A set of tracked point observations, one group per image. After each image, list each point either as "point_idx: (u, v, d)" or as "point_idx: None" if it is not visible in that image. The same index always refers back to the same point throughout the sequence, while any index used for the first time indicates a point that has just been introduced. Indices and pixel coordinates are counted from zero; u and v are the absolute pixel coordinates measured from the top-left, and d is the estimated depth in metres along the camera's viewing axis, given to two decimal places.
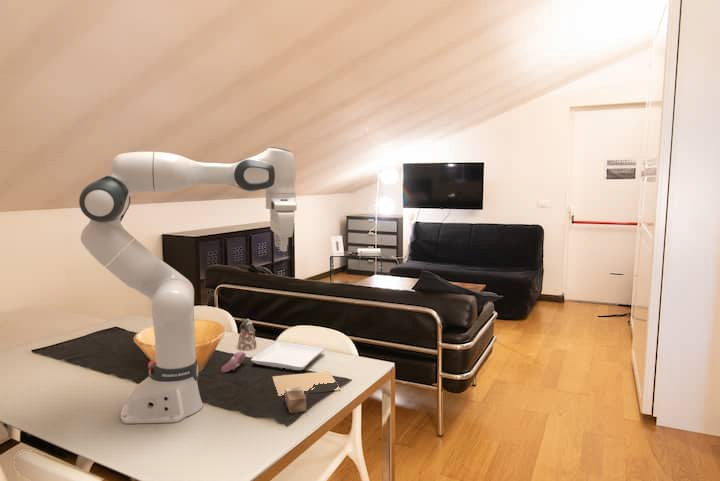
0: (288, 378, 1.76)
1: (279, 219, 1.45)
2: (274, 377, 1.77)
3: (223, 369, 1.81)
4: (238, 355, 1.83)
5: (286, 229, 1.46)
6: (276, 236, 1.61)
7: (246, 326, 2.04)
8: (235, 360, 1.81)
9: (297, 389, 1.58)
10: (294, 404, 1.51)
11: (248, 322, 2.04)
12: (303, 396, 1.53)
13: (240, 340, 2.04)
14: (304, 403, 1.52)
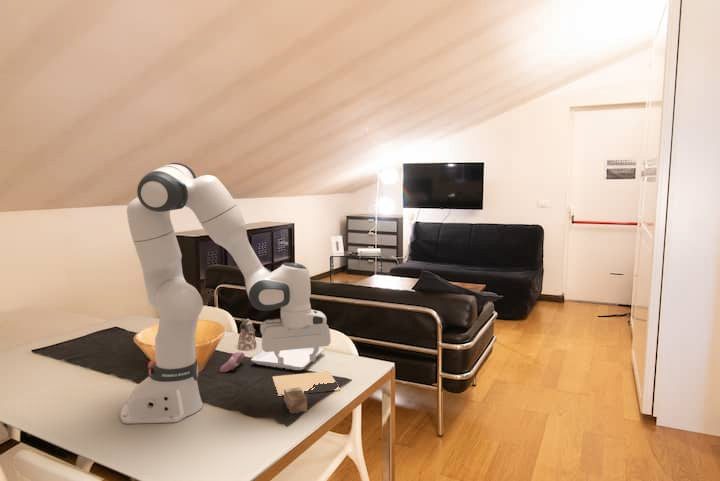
0: (288, 378, 1.76)
1: (329, 330, 1.54)
2: (274, 377, 1.77)
3: (221, 369, 1.81)
4: (237, 355, 1.83)
5: None
6: None
7: (246, 326, 2.04)
8: (234, 360, 1.81)
9: (296, 389, 1.58)
10: (295, 404, 1.51)
11: (248, 322, 2.04)
12: (303, 396, 1.54)
13: (240, 340, 2.04)
14: (305, 403, 1.52)
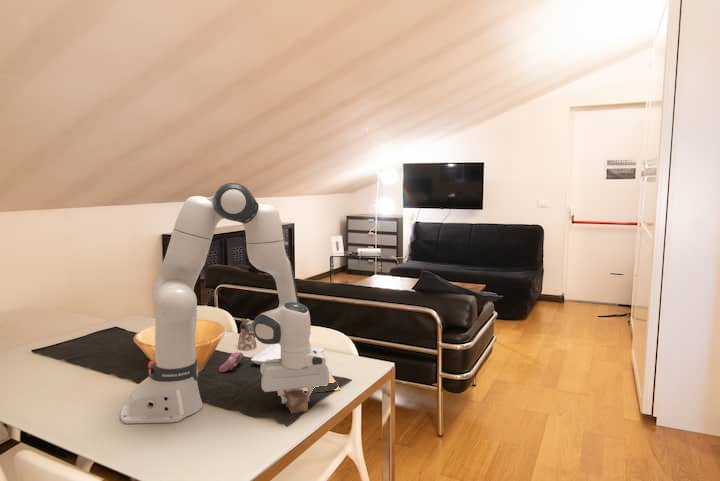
0: None
1: (328, 370, 1.55)
2: None
3: (220, 369, 1.81)
4: (235, 355, 1.83)
5: None
6: (281, 394, 1.54)
7: (246, 326, 2.04)
8: (232, 360, 1.81)
9: (296, 389, 1.58)
10: (296, 404, 1.51)
11: (248, 322, 2.04)
12: (304, 395, 1.54)
13: (240, 340, 2.04)
14: (306, 402, 1.52)
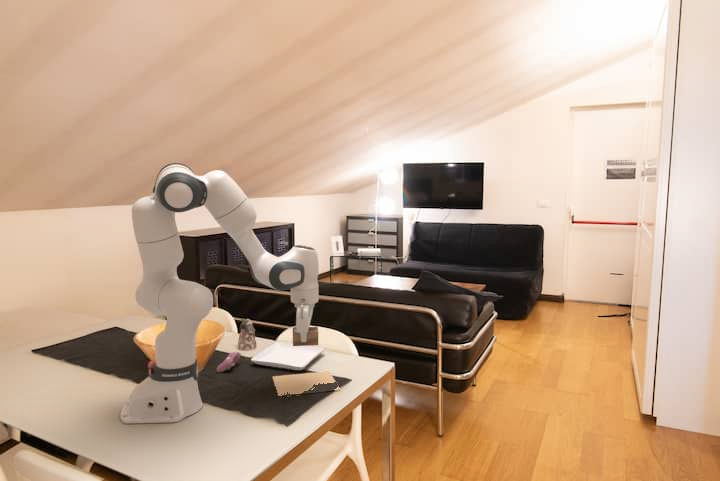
0: (288, 378, 1.76)
1: None
2: (274, 377, 1.77)
3: (218, 369, 1.81)
4: (233, 355, 1.84)
5: None
6: None
7: (246, 326, 2.04)
8: (230, 360, 1.81)
9: None
10: None
11: (248, 322, 2.04)
12: (313, 327, 1.68)
13: (240, 340, 2.04)
14: None
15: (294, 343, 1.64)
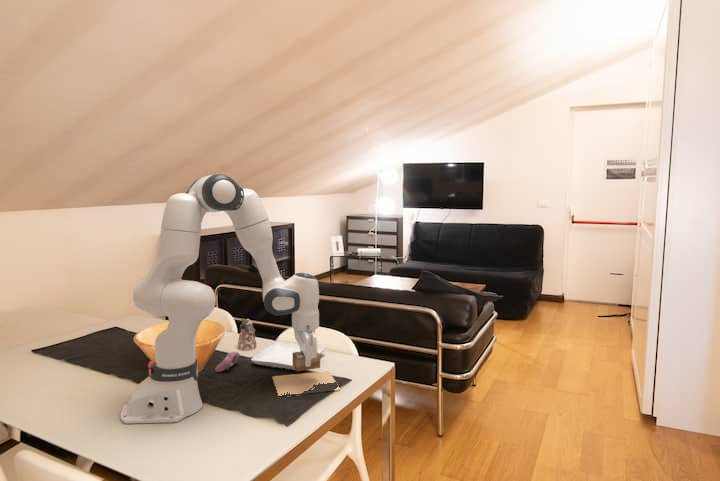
0: (288, 378, 1.76)
1: None
2: (274, 377, 1.77)
3: (216, 369, 1.81)
4: (232, 355, 1.84)
5: None
6: None
7: (246, 326, 2.04)
8: (229, 360, 1.81)
9: (298, 353, 1.72)
10: None
11: (248, 322, 2.04)
12: None
13: (240, 340, 2.04)
14: None
15: (298, 368, 1.69)
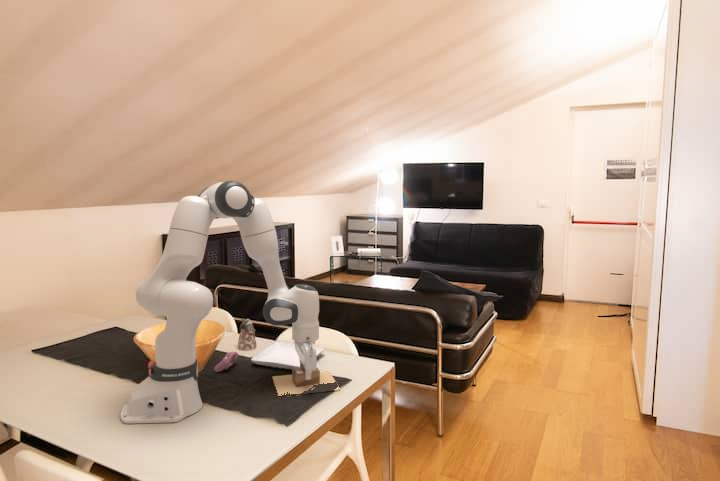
0: (288, 378, 1.76)
1: None
2: (274, 377, 1.77)
3: (215, 369, 1.81)
4: (231, 355, 1.84)
5: None
6: None
7: (246, 326, 2.04)
8: (228, 360, 1.81)
9: (298, 368, 1.72)
10: None
11: (248, 322, 2.04)
12: None
13: (240, 340, 2.04)
14: None
15: (297, 384, 1.69)
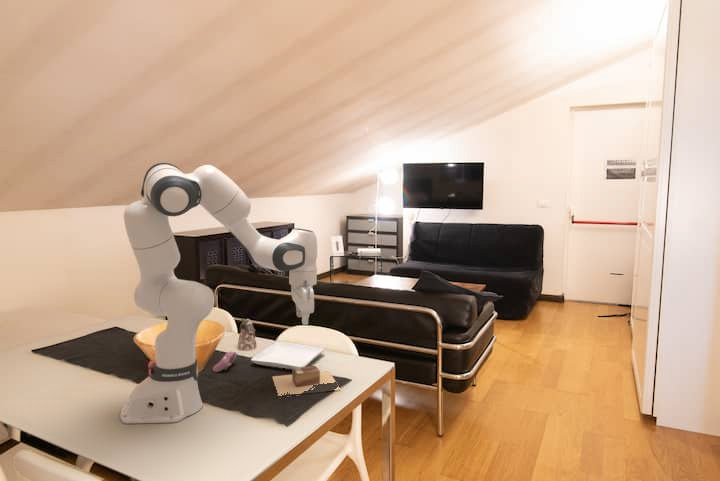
0: (288, 378, 1.76)
1: None
2: (274, 377, 1.77)
3: (214, 369, 1.81)
4: (230, 355, 1.84)
5: None
6: None
7: (246, 326, 2.04)
8: (227, 360, 1.81)
9: (298, 368, 1.72)
10: None
11: (248, 322, 2.04)
12: (311, 366, 1.75)
13: (240, 340, 2.04)
14: None
15: (297, 384, 1.69)
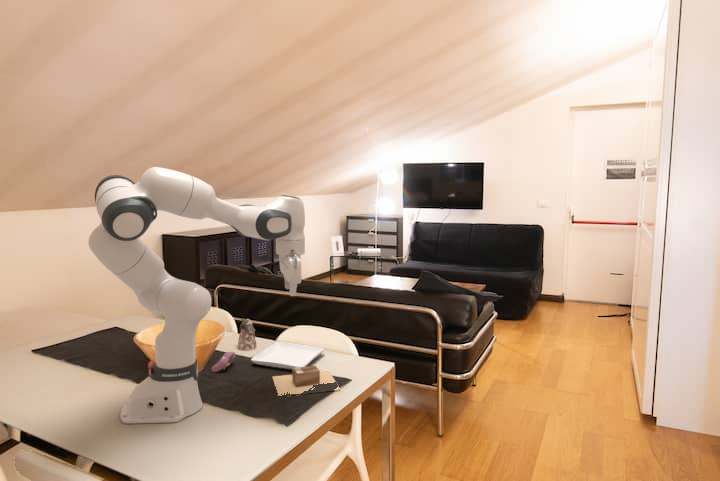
0: (288, 378, 1.76)
1: None
2: (274, 377, 1.77)
3: (213, 369, 1.81)
4: (228, 354, 1.84)
5: None
6: None
7: (246, 326, 2.04)
8: (226, 359, 1.81)
9: (298, 368, 1.72)
10: None
11: (248, 322, 2.04)
12: (311, 366, 1.75)
13: (240, 340, 2.04)
14: None
15: (297, 384, 1.69)
